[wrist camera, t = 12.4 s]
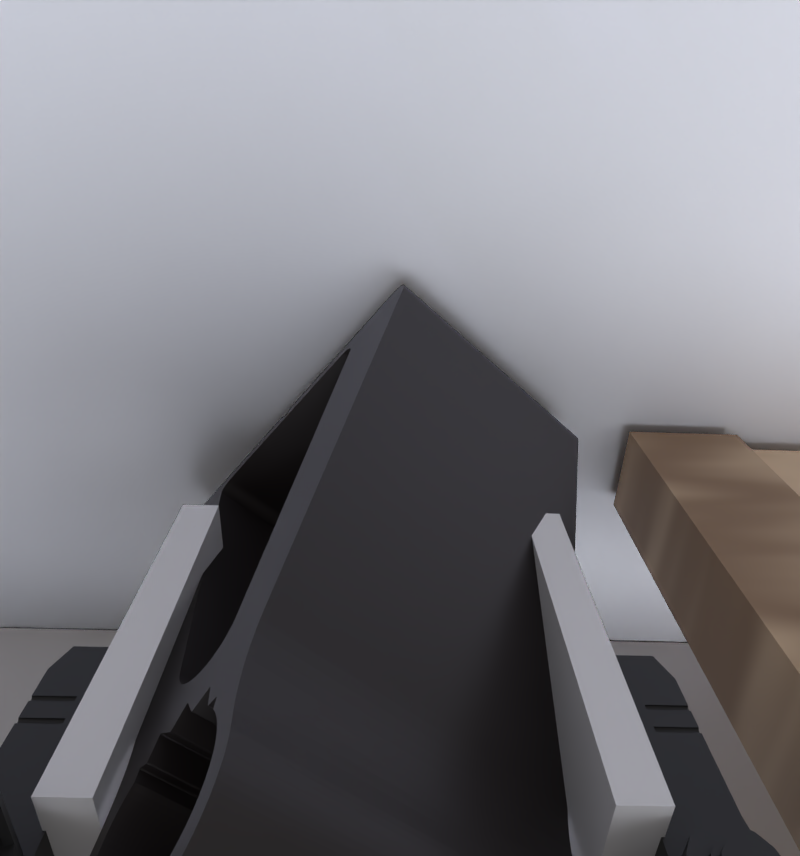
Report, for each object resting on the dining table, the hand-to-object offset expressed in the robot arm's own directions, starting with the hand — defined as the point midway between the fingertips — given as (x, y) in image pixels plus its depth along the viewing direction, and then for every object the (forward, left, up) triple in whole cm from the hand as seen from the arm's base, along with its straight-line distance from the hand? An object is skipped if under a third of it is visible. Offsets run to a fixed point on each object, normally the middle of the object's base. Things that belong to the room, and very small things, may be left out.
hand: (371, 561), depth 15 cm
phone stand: (0, 0, -4) cm, 4 cm away
